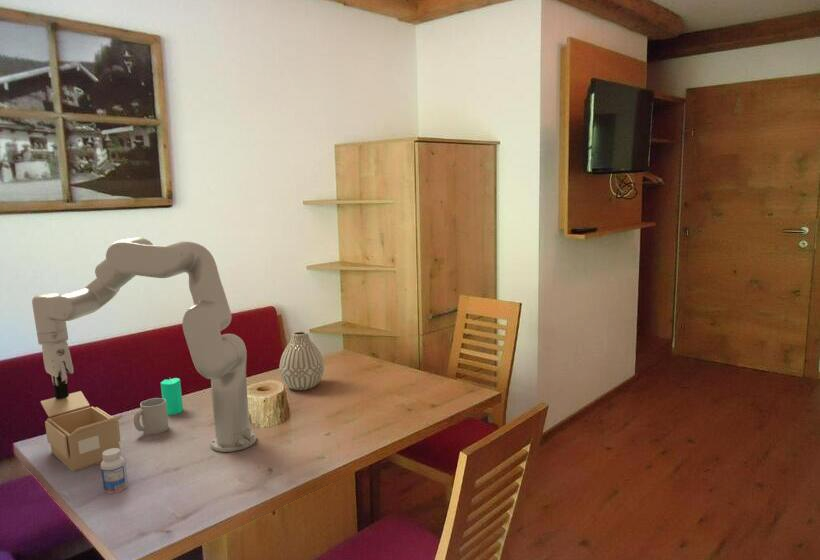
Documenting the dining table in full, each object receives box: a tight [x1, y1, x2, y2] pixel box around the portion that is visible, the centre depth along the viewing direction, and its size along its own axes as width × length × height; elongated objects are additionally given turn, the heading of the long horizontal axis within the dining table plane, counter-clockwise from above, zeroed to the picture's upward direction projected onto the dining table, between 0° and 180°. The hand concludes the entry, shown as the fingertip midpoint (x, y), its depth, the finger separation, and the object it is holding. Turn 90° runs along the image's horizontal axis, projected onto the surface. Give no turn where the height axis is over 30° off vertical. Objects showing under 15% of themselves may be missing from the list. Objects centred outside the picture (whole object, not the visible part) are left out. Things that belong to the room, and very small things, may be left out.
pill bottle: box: [100, 448, 129, 494], centre depth 149 cm, size 6×5×10 cm
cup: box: [133, 397, 169, 436], centre depth 183 cm, size 7×10×9 cm
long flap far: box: [40, 390, 91, 418], centre depth 176 cm, size 1×11×7 cm
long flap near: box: [71, 414, 124, 435], centre depth 159 cm, size 1×11×7 cm
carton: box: [44, 406, 122, 472], centre depth 169 cm, size 18×14×10 cm
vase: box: [278, 330, 325, 391], centre depth 218 cm, size 16×16×20 cm
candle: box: [160, 377, 184, 416], centre depth 199 cm, size 6×6×12 cm
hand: (62, 397), depth 177 cm, fingers closed
